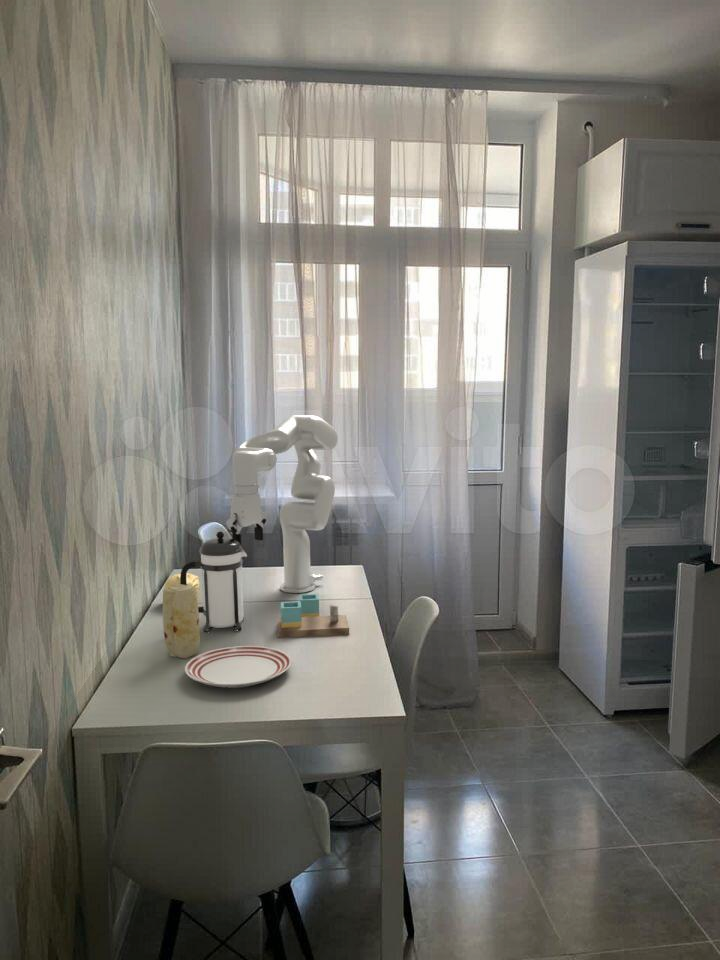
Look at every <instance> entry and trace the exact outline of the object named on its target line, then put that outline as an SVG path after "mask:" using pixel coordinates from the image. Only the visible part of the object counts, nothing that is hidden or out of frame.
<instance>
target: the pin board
mask: <svg viewBox="0 0 720 960" xmlns="http://www.w3.org/2000/svg"><path fill="white" fill-rule="evenodd" d="M329 611H330V612H329V615H319V616H310V617H301V620H302V627H286V628H282V626H281V617H278V618H277V630H278V631H277V633H278V634H277V636H278V638H279V639H282V638H283V639H285V638H297V637H298V638H299V637H300V638H302V636H304V637H319V636H320V637H321V636H323V637H325V636H338V635H341V636H342V634H343V635H350V625H349V622H348V618H347V614H339V606H338V604H330V606H329Z"/></svg>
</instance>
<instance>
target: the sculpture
mask: <svg viewBox="0 0 720 960" xmlns="http://www.w3.org/2000/svg"><path fill="white" fill-rule="evenodd" d="M180 575H181V572H180V573H176V574H174V575H172V576H170V577H168V578H167V580H166V582H165V583H164V586H163V587H164V588H163V590H164V589H165V588H167V587H169V586H172V585H177V584H180ZM186 581H187V585H190V586H193V587H195V588H196V593H197V599H198V598H199V596H200V589H201V587H200V585H201V583H200V579H199V576H198V575H195V574H192V573H189V572H187V574H186Z"/></svg>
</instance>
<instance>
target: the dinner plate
mask: <svg viewBox="0 0 720 960" xmlns="http://www.w3.org/2000/svg"><path fill="white" fill-rule="evenodd" d="M291 665H292V658H291V657H290V655H289V654H287V653H286V652H284V651H282V650H280V649H277V648H273V647H267V646H262V645H261V646H258V645H238V646H229V647H222V648H217V649H213V650H209V651H205V652H202V653H200V654H198V655H196V656H195V657H193V658H191V659H190V660H189V661H187V663H186V664H185V666H184V672H185V674H186V675H187V677H189V678H190V679H191V680H193V681H196V682H198V683H200V684H204V685H206V686H212V687H219V688H225V687H227V688H226V689H232V688H233V689H238V688H246V687H251V686H256V685H258V684H259V685H260V684H262V683H266V682H267V681H271V680H273V679H275V678H277V677H279V676H280V675H282V674H283V673H285V672H286V671H287V670H288V669H290V667H291Z"/></svg>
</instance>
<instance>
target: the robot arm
mask: <svg viewBox="0 0 720 960" xmlns="http://www.w3.org/2000/svg"><path fill="white" fill-rule="evenodd" d="M338 437H339V436H338V432H337V430H336V429H335V428H334V427H333V426H332V425H331V424H330V423H328V422H327V421H325V420H324V419H322V418H321V417H319V416H316V415H296V414H295V415H290V416H288V417H286V419H284V420H283V421H282V422H280V423H279V425H277V426H276V427H274V429H273V430H271V431H266V432H265V433H261V434H259V435H256V436H253V437H251V438H248V439H247V440H246V441H244V442H243V443H242V444H240V445H239V446H238V447H236V450H235V451H234V453H232V475H233V477H232V478H233V493H234V494H233V495H232V497H231V502H230V517H229V518H228V519H227V520H226V521H225V525H226V527H227V530H228V531H229V532H230V534H232V539H235V540H237V541H238V542H239V543H240V546H242V533H241V531H242V529H243V528H245V527H250V526H254V529H253V530H254V539H255V540H256V541H264V528H265V523H266V522H267V517H268V512H266V511H264V510H263V509H262V507H263V506H262V500H261V495H260V493H259V488H260V485H259V481H258V472H269V471H272V469H274V468H275V466H276V465H277V462H278V460H277V459H278V458H277V455H279V454H283V453H286V452H287V451H289V450H290V449H291V448H292V447H293V446H294V448H295V453H296V456H297V466H296V470H295V472H294V476H293V480H292V485H291V488H290V489H291V490H290V495H291V496H292V498H293V499H295V500H298V501H289V502H286V503H284V504H283V505H282V506H281V507H280V509H279V512H278V513H279V522H280V526H281V533H282V542H283V543H282V545H283V546H282V547H283V577H284V579H283V580H284V582H283V583H281V584H280V586H279V588H280V590H281V591H282V592H284V593H290V594H301V593H302V594H303V593H308V592H312V591H313V590H315V589H316V583H315V582H317V581H321V580H323V575H322V574H311V541H310V537H309V534H308V533H307V530H308V531H321V530H324V529H325V527H326V525H327V524H328V521H329V517H330V514H331V510H332V506H333V502H334V499H335V494H336V493H335V490H336V487H335V482H334V480H333V478H331V477H330V476H328V475H327V476H326V475H320V471H321V468H322V467H321V466H322V464H321V460H320V459H319V456H317V454H316V453H315V451H331V450H333V449H335V447H336V446H337V444H338V441H339V440H338V439H339V438H338ZM313 502H314V503H313Z"/></svg>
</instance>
